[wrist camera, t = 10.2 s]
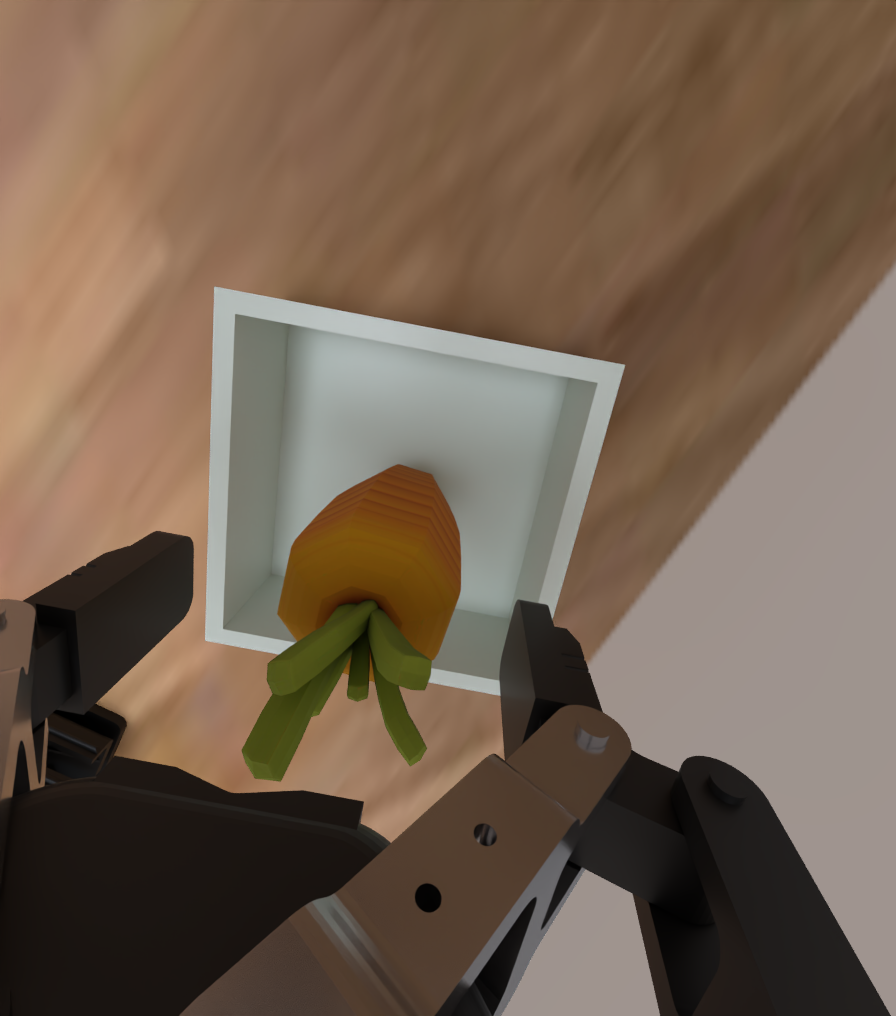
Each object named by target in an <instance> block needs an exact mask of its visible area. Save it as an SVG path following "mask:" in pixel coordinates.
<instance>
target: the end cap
mask: <svg viewBox="0 0 896 1016" xmlns="http://www.w3.org/2000/svg"><path fill="white" fill-rule="evenodd" d="M47 722H48V744H47V758H46V773H45V786H47V785H50V784H54V783H58V782H63V781H67V780H72V779H79V778H86V777H97V776H98V775H99V774H100V772H101V771H102V770H103V769H104V768H105V767H106V765H107V764H108V763H109V762H110V761H111V760H112V758H113V756H114V753H115V751H116V749H117V747H118V744H119V742H120V740H121V738H122V735H123V733H124V731H125V728H126V723H127V722H126V721H125V719H124V718H123V717H122V716H120V715H118V714H116V713H114V712H112V711H110V710H107V709H105V708H103V707H101V706H99V705H97V704H94V705H93V706H92V707H91V708H90V709H89V710H88V711H87V712H86V713H85V714H84V715H82V714H77V713H72V712H66V711H61V710H55V711H54V712H53V713H52V714H50V715H49V716H48V717H47Z"/></svg>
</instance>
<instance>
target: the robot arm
mask: <svg viewBox="0 0 896 1016" xmlns="http://www.w3.org/2000/svg"><path fill="white" fill-rule="evenodd" d="M193 558H194V547H193V542H192V539H191V538H190V537H188V536H182V535H177V534H172V533H166V532H161V531H155V532H153V533H151V534H149V535H148V536H146V537H144V538H143V539H141V540H139V541H138V542H136V543H134V544H133V545H131V546H127V547H124V548H121V549H117V550H114V551H111V552H107V553H104V554H103V555H101V556H99V557H97V558H96V559H94V560H92V561H91V562H89V563H87V565H86V566H82V567H80V568H79V569H77V570H75V571H73V572H72V574H71V575H66V576H65V577H63V578H61V579H60V580H58V581H56V582H54V583H53V584H51V585H49V586H48V587H46V588H44V589H42V590H41V591H39V592H37V593H35V594H34V595H32V596H30V597H29V598H27V599H25V600H23V601H18V600H10V599H0V1016H501V1015H502V1013H503V1012H504V1010H505V1008H506V1006H507V1005H508V1003H509V1001H510V999H511V998H512V996H513V994H514V992H515V990H516V988H517V986H518V984H519V983H520V981H521V979H522V976H523V975H524V972H525V970H526V968H527V966H528V964H529V962H530V960H531V958H532V956H533V954H534V952H535V950H536V949H537V947H538V945H539V944H540V942H541V940H542V939H543V937H544V936H545V934H546V932H547V931H548V929H549V927H550V926H551V924H552V923H553V921H554V919H555V918H556V916H557V915H558V913H559V911H560V910H561V908H562V906H563V905H564V903H565V902H566V900H567V898H568V897H569V895H570V893H571V892H572V890H573V888H574V887H575V885H576V884H577V882H578V881H579V879H580V877H581V876H582V874H583V872H584V871H585V869H587V870H588V871H590V872H592V873H594V874H596V875H598V876H600V877H602V878H604V879H606V880H608V881H609V882H611V883H613V884H616V885H617V886H619V887H621V888H623V889H625V890H627V891H629V892H631V893H633V897H634V902H635V906H636V910H637V915H638V919H639V924H640V928H641V933H642V937H643V941H644V946H645V950H646V954H647V959H648V963H649V968H650V972H651V977H652V981H653V985H654V990H655V994H656V999H657V1003H658V1008H659V1012H660V1016H891V1015H890V1014H889V1012H888V1010H887V1009H886V1006H885V1005H884V1003H883V1001H882V999H881V998H880V996H879V994H878V993H877V991H876V989H875V987H874V986H873V984H872V982H871V980H870V978H869V977H868V975H867V973H866V971H865V970H864V968H863V966H862V964H861V963H860V961H859V959H858V957H857V956H856V954H855V952H854V950H853V949H852V947H851V945H850V943H849V942H848V940H847V938H846V936H845V935H844V933H843V931H842V929H841V928H840V926H839V924H838V922H837V920H836V919H835V917H834V915H833V913H832V912H831V910H830V908H829V906H828V905H827V903H826V901H825V900H824V898H823V896H822V894H821V892H820V891H819V889H818V887H817V885H816V884H815V882H814V880H813V879H812V877H811V875H810V873H809V871H808V870H807V868H806V866H805V864H804V862H803V861H802V859H801V857H800V855H799V854H798V852H797V850H796V849H795V847H794V845H793V843H792V841H791V840H790V838H789V836H788V834H787V833H786V831H785V829H784V827H783V826H782V824H781V822H780V820H779V819H778V817H777V815H776V813H775V812H774V810H773V808H772V806H771V805H770V803H769V801H768V799H767V798H766V796H765V795H764V793H763V792H762V791H761V790H760V789H759V787H757V785H755V783H754V782H753V781H751V780H750V779H749V778H748V777H747V776H746V775H744V774H743V773H742V772H740V771H739V770H737V769H736V768H734V767H732V766H731V765H728V764H727V763H725V762H722V761H720V760H717V759H714V758H711V757H705V756H693V757H689V758H687V759H686V760H685V761H684V762H683V764H682V765H681V768H680V770H679V772H677V771H675V770H673V769H671V768H668V767H666V766H663V765H661V764H659V763H657V762H654V761H652V760H650V759H647V758H645V757H643V756H641V755H639V754H638V753H636V752H634V751H633V750H631V749H632V748H631V742H630V739H629V737H628V735H627V733H626V732H625V731H624V729H623V728H622V727H621V726H620V725H619V724H618V723H617V722H616V721H615V720H614V719H612V718H611V717H609V716H608V715H606V714H605V713H603V711H602V708H601V706H600V702H599V700H598V697H597V694H596V691H595V688H594V685H593V682H592V679H591V676H590V673H588V667H587V664H586V661H584V655H583V652H582V649H581V646H580V643H579V642H578V641H577V640H576V639H575V638H574V636H573V635H572V634H571V633H570V632H569V631H568V630H567V629H565V628H559V627H554V624H553V621H552V617H551V613H550V610H549V606H548V605H546V604H541V603H536V602H530V601H525V600H520V599H518V600H517V601H516V603H515V606H514V609H513V613H512V617H511V621H510V625H509V629H508V633H507V637H506V641H505V644H504V648H503V652H502V657H501V663H500V673H499V681H500V696H501V711H502V726H503V741H504V756H505V761H504V760H503V759H502V758H500V757H499V756H498V755H496V754H491V755H489V756H488V757H486V758H485V759H484V760H482V761H481V762H480V763H479V764H478V765H477V766H476V767H475V768H474V769H473V770H471V771H470V772H469V773H468V774H467V775H466V776H465V777H464V778H463V779H461V780H460V781H459V782H458V783H457V784H456V785H455V786H454V787H453V788H452V789H450V790H449V791H448V792H447V793H446V794H445V795H444V796H443V797H442V798H440V799H439V800H438V801H437V802H436V803H435V804H434V805H433V806H432V807H431V808H429V809H428V810H427V811H426V812H425V813H424V814H423V815H422V816H421V817H419V818H418V819H417V820H416V821H415V822H414V823H413V824H412V825H411V826H409V827H408V828H407V829H406V830H405V831H404V832H403V833H402V834H401V835H400V836H398V837H397V838H396V839H395V840H394V841H393V842H392V843H390V842H389V841H388V840H387V839H385V838H384V837H383V836H382V835H380V834H378V833H377V832H375V831H374V830H372V829H371V828H369V827H367V826H365V825H363V824H361V823H360V822H361V816H362V810H363V804H364V802H363V801H358V800H352V799H347V798H341V797H336V796H330V795H325V794H320V793H314V792H309V791H303V790H302V791H280V792H258V793H231V792H227V791H225V790H223V789H221V788H219V787H217V786H215V785H212V784H210V783H208V782H206V781H204V780H202V779H200V778H198V777H196V776H194V775H192V774H189V773H187V772H185V771H183V770H181V769H179V768H177V767H173V766H167V765H162V764H157V763H151V762H146V761H140V760H135V759H129V758H124V757H118V756H114V757H113V759H112V760H111V761H110V762H109V763H108V764H107V765H106V767H105V768H104V769H103V770H102V771H101V772H100V774H99V775H98V776H97V777H86V778H79V779H72V780H67V781H63V782H58V783H54V784H50V785H47V786H45V773H46V758H47V744H48V722H47V717H48V716H49V715H50V714H52V713H53V712H54V711H55V710H61V711H66V712H72V713H77V714H82V715H84V714H85V713H86V712H87V711H88V710H89V709H90V708H91V707H92V706H93V705H94V704H95V703H96V702H97V701H98V700H99V699H100V698H101V697H103V696H104V695H105V694H106V693H107V692H108V691H109V690H110V689H111V688H112V687H113V686H114V685H115V684H116V683H117V682H118V681H119V680H120V679H121V678H122V677H123V676H124V675H125V674H126V673H128V672H129V671H130V670H131V669H132V668H133V667H134V666H135V665H136V664H137V663H138V662H139V661H140V660H141V659H142V658H143V657H144V656H145V655H146V654H147V653H148V652H149V651H150V650H151V649H153V648H154V647H155V646H156V645H157V644H158V643H159V642H160V641H161V640H162V639H163V638H164V637H165V636H166V635H167V634H168V633H169V632H170V631H171V630H172V629H173V628H174V627H175V626H176V625H178V624H179V623H180V622H181V621H182V620H183V619H184V617H185V616H186V614H187V613H188V611H189V608H190V606H191V603H192V598H193Z"/></svg>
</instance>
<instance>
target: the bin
mask: <svg viewBox="0 0 896 1016" xmlns="http://www.w3.org/2000/svg"><path fill="white" fill-rule="evenodd" d="M624 367H625V365H622V364H617V363H612V362H606V361H601V360H596V359H591V358H586V357H580V356H575V355H570V354H565V353H559V352H554V351H549V350H544V349H538V348H533V347H528V346H523V345H518V344H512V343H507V342H502V341H497V340H491V339H486V338H481V337H476V336H471V335H465V334H460V333H455V332H450V331H444V330H439V329H434V328H429V327H424V326H418V325H413V324H408V323H403V322H397V321H392V320H387V319H382V318H377V317H371V316H366V315H361V314H356V313H350V312H345V311H340V310H335V309H329V308H324V307H319V306H314V305H309V304H303V303H298V302H293V301H288V300H282V299H277V298H272V297H267V296H262V295H256V294H251V293H246V292H241V291H235V290H230V289H225V288H220V287H215V286H214V319H213V358H212V397H211V435H210V474H209V512H208V551H207V590H206V628H205V641H210V642H215V643H220V644H226V645H231V646H237V647H242V648H247V649H253V650H258V651H263V652H269V653H274V654H281V653H282V652H283V651H285V650H286V649H287V648H289V647H290V646H292V645H293V644H295V643H296V642H297V641H296V639H295V638H294V637H293V635H292V634H291V632H290V631H289V630H288V628H287V627H286V626H285V624H284V623H283V622H282V620H281V619H280V617H279V616H278V615H277V612H278V606H279V601H280V597H281V592H282V587H283V583H284V578H285V573H286V569H287V564H288V559H289V555H290V550H291V546H292V544H293V542H294V541H295V539H296V538H297V537H298V536H299V535H300V533H301V532H302V531H303V530H304V529H305V528H306V527H307V526H308V525H309V524H310V522H311V521H312V520H313V519H314V518H315V517H316V516H317V515H318V514H319V513H320V512H321V511H322V510H323V509H324V508H325V507H326V506H327V505H328V504H329V503H330V502H331V501H332V500H333V499H334V498H335V497H336V496H337V495H339V494H341V493H342V492H344V491H346V490H348V489H349V488H351V487H353V486H354V485H356V484H358V483H360V482H362V481H364V480H366V479H368V478H370V477H372V476H374V475H376V474H378V473H380V472H382V471H384V470H386V469H388V468H390V467H392V466H395V465H397V464H401V465H404V466H407V467H410V468H413V469H417V470H420V471H423V472H426V473H429V474H432V475H433V477H434V479H435V481H436V483H437V484H438V486H439V488H440V490H441V492H442V493H443V495H444V497H445V499H446V501H447V502H448V504H449V506H450V509H451V511H452V513H453V515H454V518H455V520H456V523H457V526H458V529H459V532H460V545H461V592H460V596H459V599H458V601H457V604H456V607H455V610H454V612H453V615H452V618H451V620H450V623H449V626H448V628H447V631H446V634H445V637H444V639H443V642H442V645H441V647H440V650H439V653H438V654H437V656H436V657H435V659H434V660H432V665H431V676H430V679H429V681H428V682H430V683H435V684H440V685H446V686H451V687H456V688H462V689H467V690H473V691H478V692H483V693H489V694H494V695H499V696H500V681H499V673H500V663H501V657H502V652H503V648H504V644H505V641H506V637H507V633H508V629H509V625H510V621H511V617H512V613H513V609H514V606H515V603H516V601H517V600H518V599H520V600H525V601H530V602H536V603H541V604H546V605H548V606H549V610H550V613H551V617H552V619H553V616H554V612H555V609H556V605H557V602H558V598H559V595H560V591H561V588H562V584H563V581H564V577H565V574H566V570H567V567H568V563H569V560H570V556H571V553H572V549H573V546H574V542H575V539H576V535H577V532H578V528H579V525H580V521H581V518H582V514H583V511H584V507H585V504H586V500H587V497H588V493H589V490H590V486H591V483H592V479H593V476H594V472H595V469H596V465H597V462H598V458H599V455H600V451H601V448H602V444H603V441H604V437H605V434H606V430H607V427H608V423H609V420H610V416H611V413H612V409H613V406H614V402H615V399H616V395H617V392H618V388H619V385H620V381H621V378H622V374H623V371H624Z"/></svg>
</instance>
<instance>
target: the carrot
mask: <svg viewBox="0 0 896 1016" xmlns="http://www.w3.org/2000/svg"><path fill="white" fill-rule="evenodd" d="M460 592H461V545H460V532H459V529H458V526H457V523H456V520H455V518H454V515H453V513H452V511H451V509H450V506H449V504H448V502H447V501H446V499H445V497H444V495H443V493H442V492H441V490H440V488H439V486H438V484H437V483H436V481H435V479H434V477H433V475H432V474H429V473H426V472H423V471H420V470H417V469H413V468H410V467H407V466H404V465H401V464H397V465H395V466H392V467H390V468H388V469H386V470H384V471H382V472H380V473H378V474H376V475H374V476H372V477H370V478H368V479H366V480H364V481H362V482H360V483H358V484H356V485H354V486H353V487H351V488H349V489H348V490H346V491H344V492H342V493H341V494H339V495H337V496H336V497H335V498H334V499H333V500H332V501H331V502H330V503H329V504H328V505H327V506H326V507H325V508H324V509H323V510H322V511H321V512H320V513H319V514H318V515H317V516H316V517H315V518H314V519H313V520H312V521H311V522H310V524H309V525H308V526H307V527H306V528H305V529H304V530H303V531H302V532H301V533H300V535H299V536H298V537H297V538H296V539H295V541H294V542H293V544H292V546H291V550H290V555H289V559H288V564H287V569H286V573H285V578H284V583H283V587H282V592H281V597H280V601H279V606H278V612H277V615H278V616H279V617H280V619H281V620H282V622H283V623H284V624H285V626H286V627H287V628H288V630H289V631H290V632H291V634H292V635H293V637H294V638H295V639H296V641H297V642H296V643H295V644H293V645H292V646H290V647H289V648H287V649H286V650H285V651H283V652H282V653H281V654H279V655H278V656H277V657H275V658H274V659H273V660H272V661H270V662H269V663H268V669H267V682H268V684H269V686H270V689H271V691H272V693H273V694H272V696H271V697H270V699H269V701H268V702H267V704H266V706H265V707H264V709H263V710H262V712H261V714H260V716H259V718H258V720H257V722H256V724H255V726H254V728H253V730H252V731H251V733H250V735H249V737H248V739H247V741H246V743H245V745H244V747H243V749H242V753H243V756H244V759H245V762H246V764H247V766H248V767H249V769H250V771H251V772H252V774H253V776H254V777H255V778H256V779H264V780H273V781H281V780H282V778H283V776H284V774H285V772H286V770H287V768H288V766H289V764H290V762H291V760H292V758H293V756H294V754H295V751H296V749H297V747H298V745H299V743H300V741H301V739H302V737H303V734H304V732H305V730H306V728H307V725H308V723H309V721H310V719H311V717H313V716H316V715H319V714H320V712H321V710H322V708H323V707H324V705H325V703H326V701H327V700H328V698H329V696H330V694H331V693H332V691H333V689H334V687H335V686H336V684H337V682H338V680H339V678H340V677H341V675H342V673H345V674H348V675H349V679H348V690H347V696H348V698H349V699H352V700H354V701H357V702H358V701H361V700H364V699H366V698H367V697H368V690H369V681H373V682H375V685H376V690H377V695H378V700H379V704H380V708H381V711H382V715H383V719H384V723H385V726H386V729H387V730H388V732H389V734H390V736H391V738H392V740H393V742H394V744H395V745H396V747H397V749H398V751H399V752H400V753H401V755H402V756H403V757H404V759H405V760H406V761H407V763H408V764H409V765H410V766H412V765H413V764H415V763H417V762H418V761H420V760H421V758H422V756H423V755H424V753H425V751H426V749H427V747H426V745H425V743H424V741H423V739H422V737H421V735H420V733H419V731H418V730H417V728H416V726H415V725H414V723H413V721H412V719H411V718H410V716H409V714H408V712H407V709H406V706H405V703H404V701H403V698H402V695H401V693H400V690H399V686H401V687H404V688H407V689H411V690H425V688H426V686H427V684H428V681H429V679H430V676H431V665H432V660H434V659H435V657H436V656H437V654H438V653H439V650H440V647H441V645H442V642H443V639H444V637H445V634H446V631H447V628H448V626H449V623H450V620H451V618H452V615H453V612H454V610H455V607H456V604H457V601H458V599H459V596H460Z"/></svg>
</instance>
